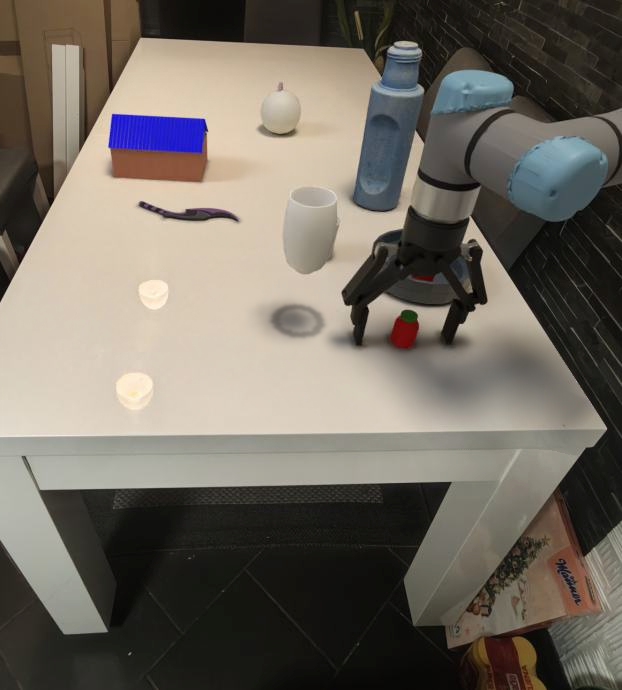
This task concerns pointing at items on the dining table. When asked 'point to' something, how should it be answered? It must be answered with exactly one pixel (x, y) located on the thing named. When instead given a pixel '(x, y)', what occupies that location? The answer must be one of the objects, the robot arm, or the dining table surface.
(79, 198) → the dining table surface
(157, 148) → the house
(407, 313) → the strawberry
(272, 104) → the ornament
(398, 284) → the bowl
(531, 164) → the robot arm
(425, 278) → the strawberry
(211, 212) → the knife
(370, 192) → the bottle
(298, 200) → the cup
